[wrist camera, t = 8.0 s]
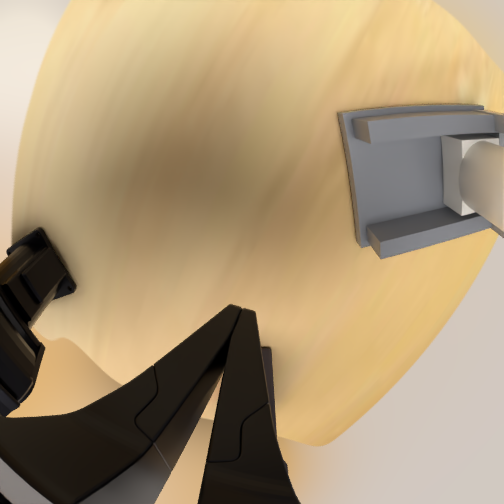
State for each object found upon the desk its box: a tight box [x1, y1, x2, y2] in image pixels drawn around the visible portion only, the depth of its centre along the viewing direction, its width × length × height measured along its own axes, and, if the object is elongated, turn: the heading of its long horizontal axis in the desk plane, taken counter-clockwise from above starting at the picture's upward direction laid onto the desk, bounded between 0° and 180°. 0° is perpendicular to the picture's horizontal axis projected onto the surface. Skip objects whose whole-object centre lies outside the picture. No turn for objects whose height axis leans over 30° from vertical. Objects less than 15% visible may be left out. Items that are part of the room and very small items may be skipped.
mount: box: [338, 104, 504, 259], centre depth 12 cm, size 12×9×9 cm
